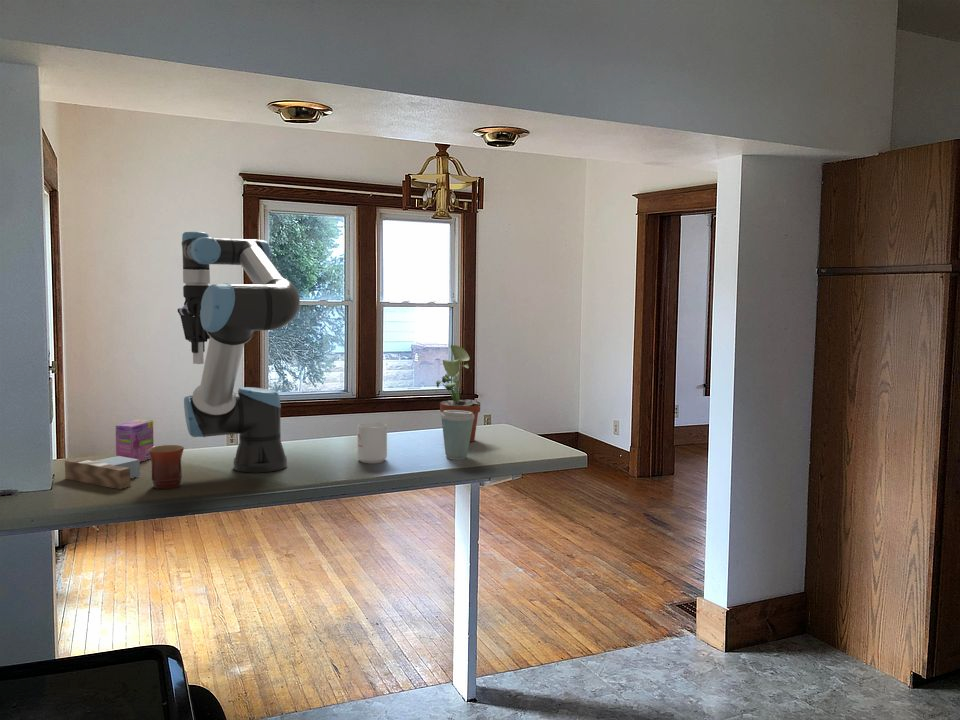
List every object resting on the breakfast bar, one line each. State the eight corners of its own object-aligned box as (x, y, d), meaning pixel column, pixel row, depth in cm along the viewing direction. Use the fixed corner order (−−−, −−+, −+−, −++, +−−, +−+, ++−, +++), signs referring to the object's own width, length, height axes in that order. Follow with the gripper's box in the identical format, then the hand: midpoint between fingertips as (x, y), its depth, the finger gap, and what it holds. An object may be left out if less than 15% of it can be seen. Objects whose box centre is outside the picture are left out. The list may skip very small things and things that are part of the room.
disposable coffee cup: (448, 452, 251) (448, 406, 249) (479, 455, 247) (480, 409, 246) (434, 459, 241) (435, 411, 240) (467, 462, 237) (467, 414, 236)
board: (130, 486, 205) (129, 467, 204) (120, 489, 202) (120, 469, 202) (75, 476, 215) (74, 457, 214) (65, 478, 212) (64, 459, 211)
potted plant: (429, 438, 274) (430, 338, 270) (469, 435, 280) (470, 338, 277) (447, 446, 260) (448, 342, 256) (488, 443, 266) (489, 341, 263)
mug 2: (391, 461, 237) (392, 425, 236) (365, 465, 232) (365, 428, 231) (373, 454, 247) (373, 419, 246) (348, 457, 242) (348, 422, 241)
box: (133, 465, 228) (132, 426, 226) (115, 464, 229) (114, 425, 228) (154, 458, 238) (153, 420, 237) (138, 457, 239) (137, 419, 238)
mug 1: (179, 490, 202) (178, 452, 200) (144, 491, 201) (143, 452, 200) (192, 479, 213) (191, 442, 212) (159, 479, 213) (158, 442, 212)
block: (139, 477, 216) (139, 459, 215) (114, 483, 209) (113, 465, 208) (119, 473, 220) (118, 455, 219) (92, 479, 213) (92, 461, 212)
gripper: (204, 284, 239) (205, 361, 241) (169, 284, 227) (172, 364, 229) (222, 284, 235) (223, 362, 238) (188, 284, 224) (190, 366, 226)
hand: (198, 363), depth 233 cm, fingers closed
